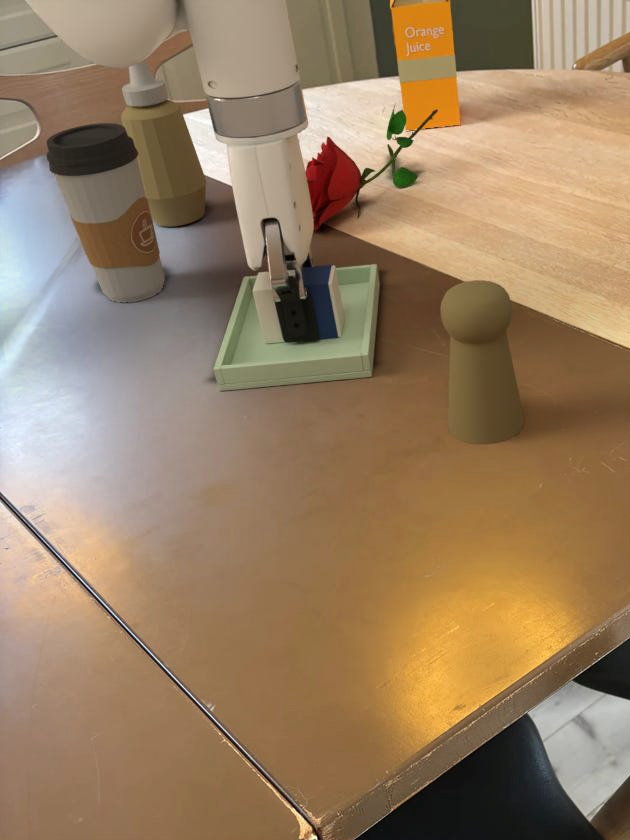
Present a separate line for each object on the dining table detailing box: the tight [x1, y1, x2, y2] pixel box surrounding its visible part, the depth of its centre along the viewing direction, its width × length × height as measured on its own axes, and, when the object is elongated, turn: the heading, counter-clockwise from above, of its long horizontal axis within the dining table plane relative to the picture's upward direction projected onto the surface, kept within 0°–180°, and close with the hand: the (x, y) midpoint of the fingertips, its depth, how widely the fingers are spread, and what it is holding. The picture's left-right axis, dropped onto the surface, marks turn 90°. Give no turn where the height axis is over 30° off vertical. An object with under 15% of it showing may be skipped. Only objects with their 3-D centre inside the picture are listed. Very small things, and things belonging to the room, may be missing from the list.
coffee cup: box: [46, 122, 166, 304], centre depth 100 cm, size 8×8×15 cm
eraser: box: [253, 264, 345, 344], centre depth 91 cm, size 7×4×5 cm, turn 92°
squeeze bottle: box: [120, 59, 207, 227], centre depth 114 cm, size 8×8×18 cm
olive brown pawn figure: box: [439, 279, 525, 445], centre depth 76 cm, size 6×6×11 cm
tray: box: [213, 263, 381, 392], centre depth 93 cm, size 13×19×2 cm
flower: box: [305, 102, 438, 231], centre depth 118 cm, size 9×9×30 cm
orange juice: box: [389, 0, 461, 131], centre depth 134 cm, size 8×9×20 cm
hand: (304, 325), depth 93 cm, fingers closed on eraser, 4 cm apart
